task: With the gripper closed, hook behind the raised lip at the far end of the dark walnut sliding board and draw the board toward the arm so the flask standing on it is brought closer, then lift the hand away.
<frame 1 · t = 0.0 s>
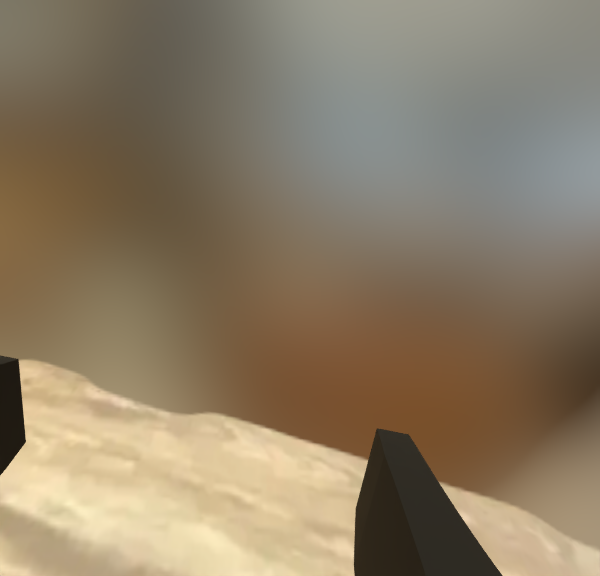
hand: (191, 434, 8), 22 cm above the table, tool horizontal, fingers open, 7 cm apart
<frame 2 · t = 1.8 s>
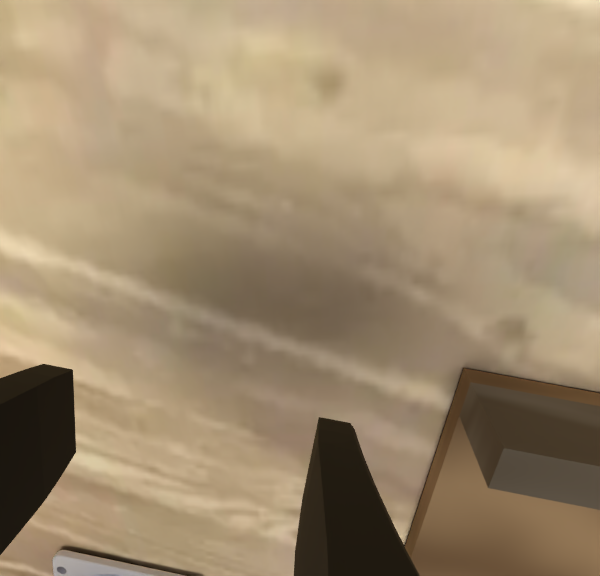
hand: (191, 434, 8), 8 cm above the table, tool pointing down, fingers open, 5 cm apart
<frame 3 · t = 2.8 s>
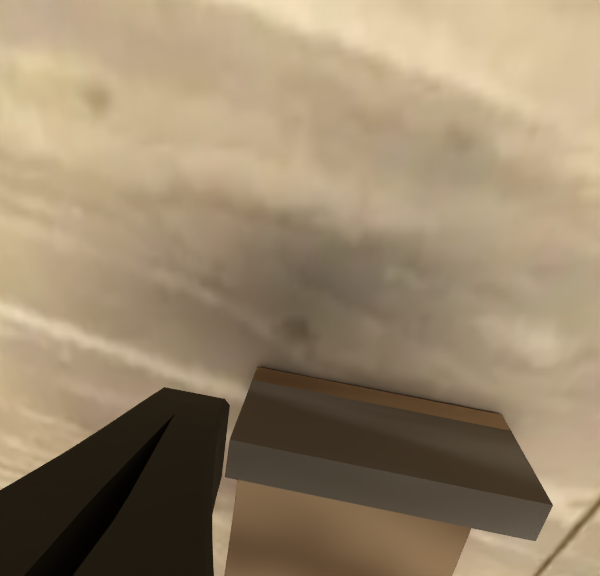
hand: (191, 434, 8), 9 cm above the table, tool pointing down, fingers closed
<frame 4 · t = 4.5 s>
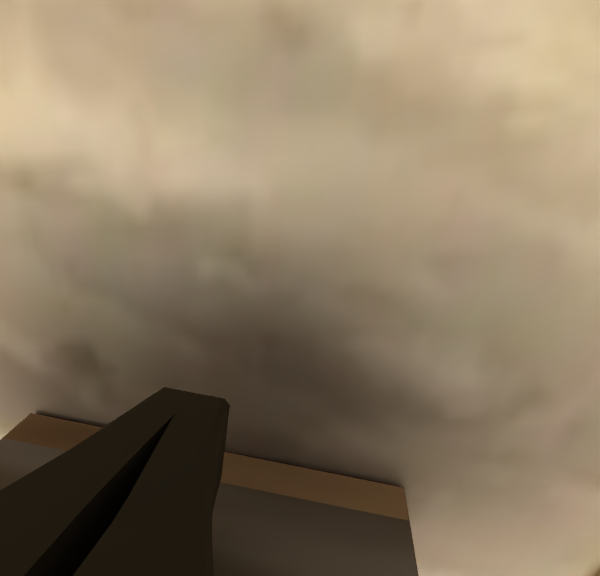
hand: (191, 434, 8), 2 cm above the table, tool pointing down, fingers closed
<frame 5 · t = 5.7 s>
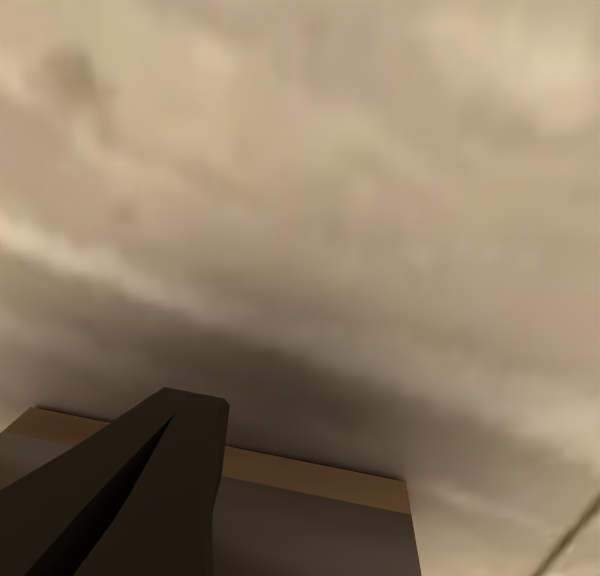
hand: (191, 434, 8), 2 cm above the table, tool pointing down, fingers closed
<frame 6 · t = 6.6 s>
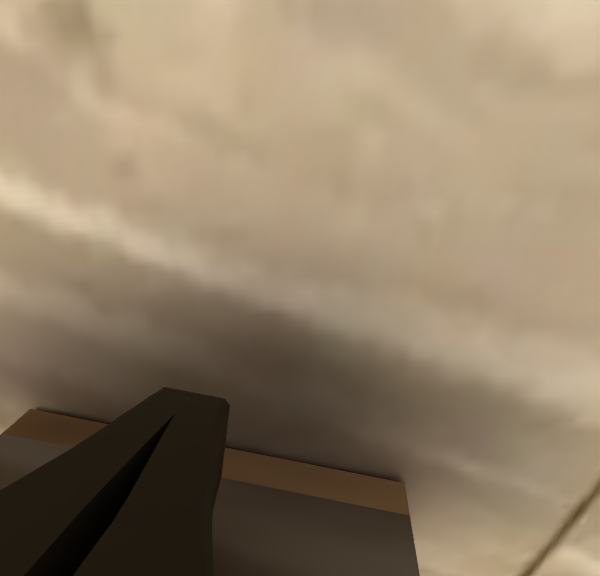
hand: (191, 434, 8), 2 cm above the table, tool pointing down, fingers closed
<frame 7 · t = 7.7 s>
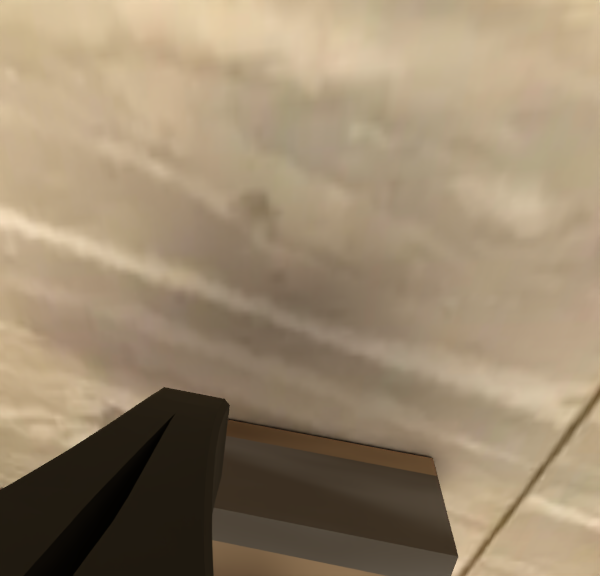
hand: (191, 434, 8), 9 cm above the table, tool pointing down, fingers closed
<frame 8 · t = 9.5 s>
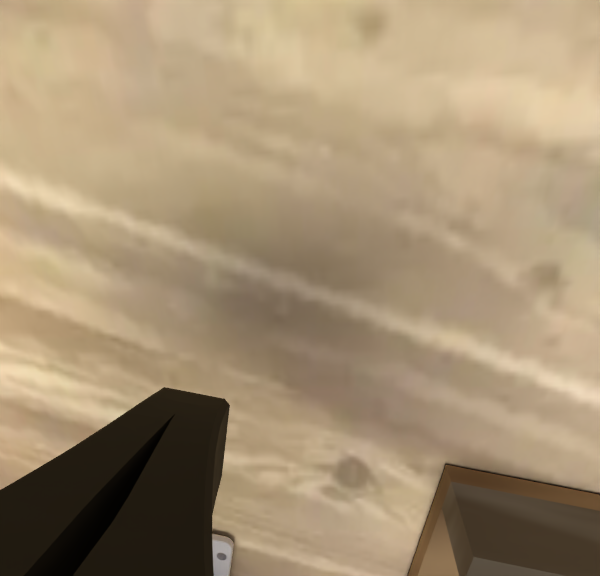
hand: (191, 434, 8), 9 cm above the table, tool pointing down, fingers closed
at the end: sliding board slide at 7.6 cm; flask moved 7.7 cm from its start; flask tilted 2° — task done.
